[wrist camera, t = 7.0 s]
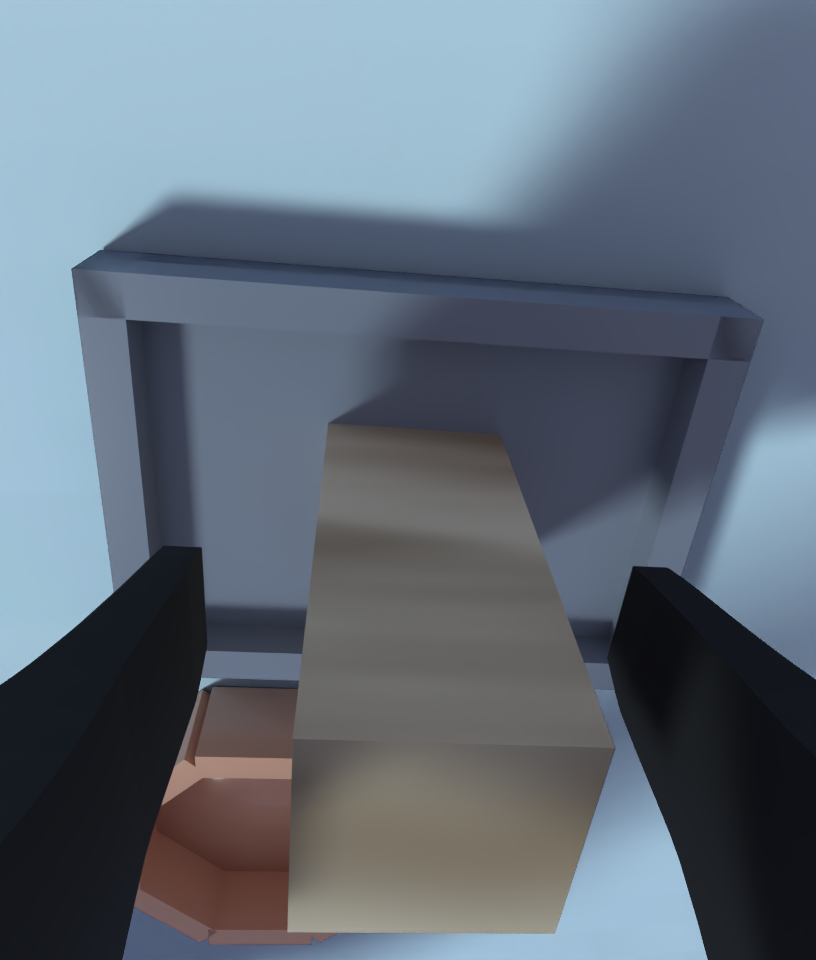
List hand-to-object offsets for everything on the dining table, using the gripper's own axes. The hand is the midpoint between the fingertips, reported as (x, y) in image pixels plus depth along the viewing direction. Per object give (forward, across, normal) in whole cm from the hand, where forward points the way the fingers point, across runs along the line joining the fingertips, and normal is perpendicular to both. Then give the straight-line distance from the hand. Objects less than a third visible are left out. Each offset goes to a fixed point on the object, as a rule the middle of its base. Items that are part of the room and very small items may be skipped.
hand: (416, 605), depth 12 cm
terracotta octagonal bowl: (+4, +3, +10) cm, 11 cm away
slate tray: (+4, 0, 0) cm, 4 cm away
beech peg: (+4, 0, 0) cm, 4 cm away
